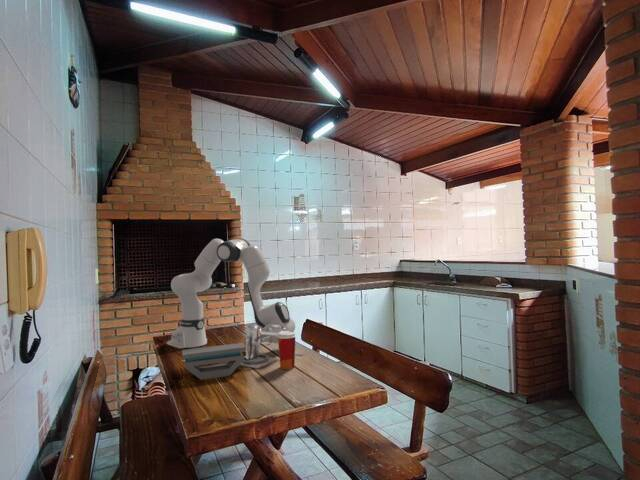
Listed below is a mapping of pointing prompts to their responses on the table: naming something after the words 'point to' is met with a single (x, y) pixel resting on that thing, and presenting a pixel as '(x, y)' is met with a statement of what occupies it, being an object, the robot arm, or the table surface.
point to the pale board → (259, 364)
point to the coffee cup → (286, 349)
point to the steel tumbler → (253, 342)
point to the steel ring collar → (256, 361)
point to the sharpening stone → (213, 360)
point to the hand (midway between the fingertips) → (253, 339)
